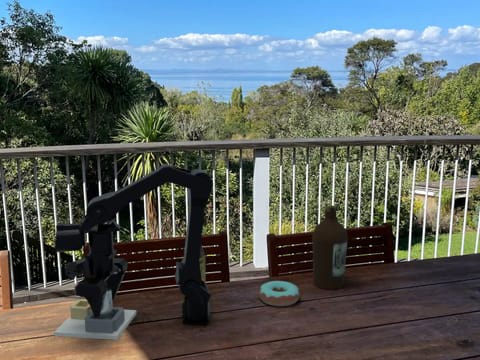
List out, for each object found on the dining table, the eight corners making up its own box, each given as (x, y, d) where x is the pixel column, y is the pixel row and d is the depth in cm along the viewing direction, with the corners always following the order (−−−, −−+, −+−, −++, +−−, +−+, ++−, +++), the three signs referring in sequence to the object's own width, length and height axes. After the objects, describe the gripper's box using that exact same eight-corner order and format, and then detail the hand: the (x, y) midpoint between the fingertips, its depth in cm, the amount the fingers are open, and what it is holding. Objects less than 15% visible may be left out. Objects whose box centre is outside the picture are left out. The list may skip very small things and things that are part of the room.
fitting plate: (136, 313, 127) (135, 299, 126) (117, 339, 113) (116, 324, 112) (80, 310, 129) (79, 296, 128) (54, 336, 115) (53, 320, 114)
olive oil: (304, 283, 147) (306, 206, 143) (324, 275, 155) (326, 201, 150) (332, 293, 140) (335, 212, 136) (352, 284, 147) (355, 206, 143)
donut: (253, 293, 140) (253, 281, 140) (290, 289, 144) (290, 277, 143) (266, 311, 129) (266, 297, 128) (306, 305, 132) (306, 292, 132)
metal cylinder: (116, 321, 120) (113, 287, 119) (109, 328, 116) (107, 294, 115) (101, 321, 121) (98, 287, 119) (94, 328, 117) (91, 293, 115)
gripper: (86, 236, 125) (89, 291, 128) (50, 260, 107) (55, 324, 109) (126, 238, 124) (129, 293, 126) (97, 262, 105) (101, 326, 108)
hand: (104, 308), depth 118 cm, fingers open, 9 cm apart
